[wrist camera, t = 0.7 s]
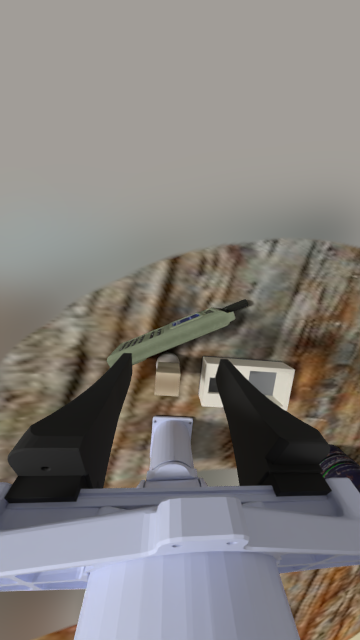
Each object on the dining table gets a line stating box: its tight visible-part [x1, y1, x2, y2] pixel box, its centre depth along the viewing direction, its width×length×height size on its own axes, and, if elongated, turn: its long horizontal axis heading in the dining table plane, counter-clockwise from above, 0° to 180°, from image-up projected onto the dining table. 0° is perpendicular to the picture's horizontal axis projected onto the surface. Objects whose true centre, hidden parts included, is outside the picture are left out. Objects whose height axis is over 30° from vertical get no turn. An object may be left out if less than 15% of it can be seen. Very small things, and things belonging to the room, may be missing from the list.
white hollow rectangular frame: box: [198, 356, 295, 411], centre depth 31 cm, size 16×8×4 cm, turn 84°
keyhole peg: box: [155, 352, 180, 396], centre depth 28 cm, size 4×4×8 cm
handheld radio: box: [107, 299, 248, 368], centre depth 28 cm, size 7×3×25 cm
